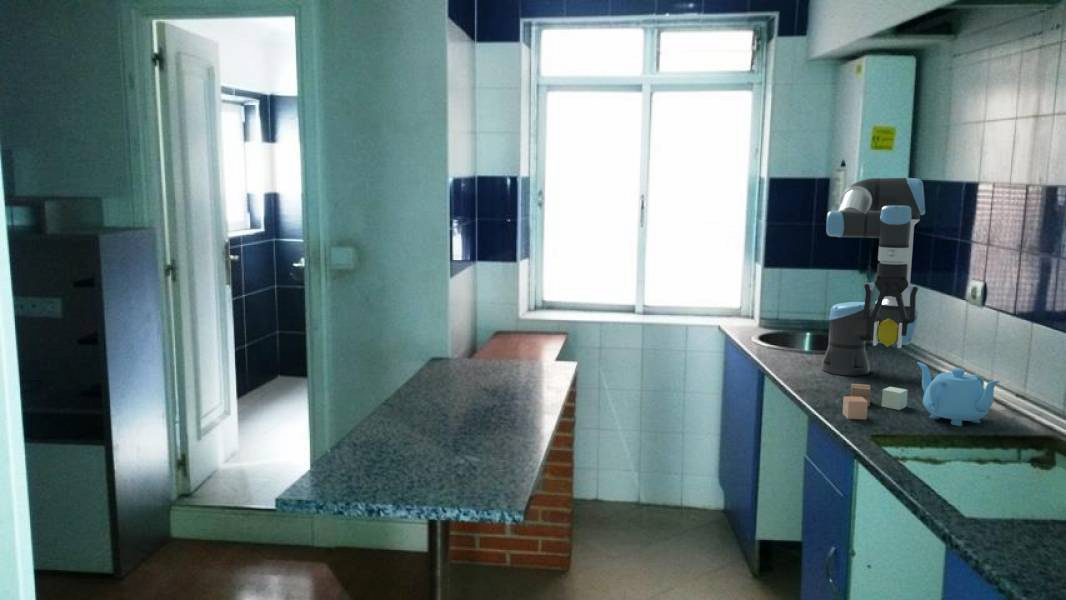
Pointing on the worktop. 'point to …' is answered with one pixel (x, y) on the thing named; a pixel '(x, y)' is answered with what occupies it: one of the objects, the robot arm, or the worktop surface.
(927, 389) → the teapot
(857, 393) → the walnut cube
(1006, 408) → the worktop surface
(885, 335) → the lemon
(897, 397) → the sage cube
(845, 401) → the terracotta cube
